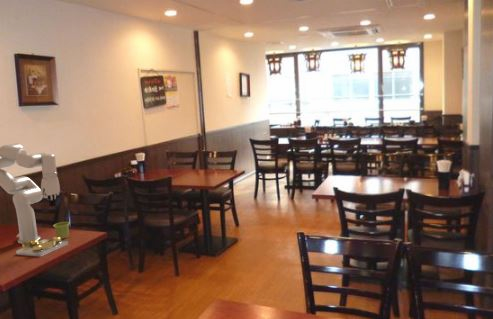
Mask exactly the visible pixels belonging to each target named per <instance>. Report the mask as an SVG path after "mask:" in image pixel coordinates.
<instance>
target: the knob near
mask: <svg viewBox="0 0 493 319" xmlns="http://www.w3.org/2000/svg"><path fill="white" fill-rule="evenodd" d="M38 242H39V240H29V241H27V242H23V243H22V244H21V246H22V248H23V249H25V248H28V247H30V246H33V245H37V244H38Z"/></svg>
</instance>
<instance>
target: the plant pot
mask: <svg viewBox="0 0 493 319" xmlns="http://www.w3.org/2000/svg"><path fill="white" fill-rule="evenodd" d="M70 224H71V223H70V221H62V222H57V223H55V224H53V226H52V227H53V228H54V230H55V234H56V237H61V240H63V239H68V237H69V236H70V235H69V234H70V232H69V229H70V228H69V227H70Z"/></svg>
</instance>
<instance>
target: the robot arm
mask: <svg viewBox="0 0 493 319" xmlns="http://www.w3.org/2000/svg"><path fill="white" fill-rule="evenodd" d="M15 164H17V166H20V167H23V168H27V169H32V168H38V167H41V171H42V172H41V173H42V179H41V184H40V187H39V186H38V185H37V184H36V183H35V182H34V181H33V180H32V179H31V178H29V177H27V176H25V175H23V176H16V177H14V176H13V175H12V174H10V172H9V171H6V170H4V169H5V168H9V167H12V166H13V165H15ZM3 168H4V169H3ZM0 187H1V188H2V189H4V191H5V192H6V193H7V194H10V195H12V203H13V205H14V208H15V212H16V218H17V225H18V231H19V232H18V234H17V235H16V238H18V239H17V243H18V244H21V245H22V243H23V242H27V241H29V240H38V241H41V240H42V238H41V236H40V235H38V230H37V222H36V216H35V211H34V208H33V207H32V206H31V205H32V204H35V203H38V202H40V201H41V200H43V199H47V200H48V205H49V207H52V208H54V207H56V206H57V205H56V199H57V196H59V195H60V193H61V186H60V181H59V177H58V172H57V161H56V155H55V154H53V153H45V152H40V153H33V154H28V153H27V151H26V149H25V148H24V147H23V146H22V145H21V144H19V143H10V144H9V143H8V144H4V145H2V146H0Z"/></svg>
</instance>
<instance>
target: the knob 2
mask: <svg viewBox="0 0 493 319" xmlns="http://www.w3.org/2000/svg"><path fill="white" fill-rule="evenodd" d="M50 240H51V242H52V246H53V245H55V244H56V243H57V242H60V241H62V239H61V237H57V236H54V237H52V238H51V239H50Z"/></svg>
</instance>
